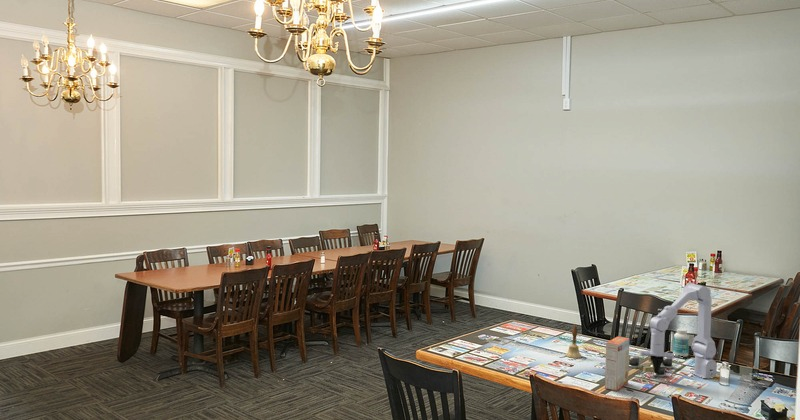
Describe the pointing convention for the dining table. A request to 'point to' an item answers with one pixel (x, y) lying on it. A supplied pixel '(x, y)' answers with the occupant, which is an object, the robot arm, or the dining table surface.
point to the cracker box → (617, 363)
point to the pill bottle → (681, 343)
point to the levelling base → (651, 365)
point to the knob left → (651, 369)
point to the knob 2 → (665, 361)
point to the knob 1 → (634, 360)
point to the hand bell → (573, 346)
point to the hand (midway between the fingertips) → (656, 372)
